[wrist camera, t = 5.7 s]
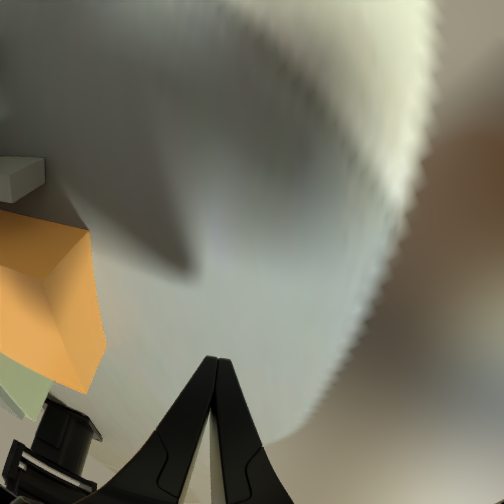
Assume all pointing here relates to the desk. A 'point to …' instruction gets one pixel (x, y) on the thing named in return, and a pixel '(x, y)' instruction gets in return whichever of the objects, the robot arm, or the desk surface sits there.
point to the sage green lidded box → (3, 368)
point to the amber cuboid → (49, 300)
